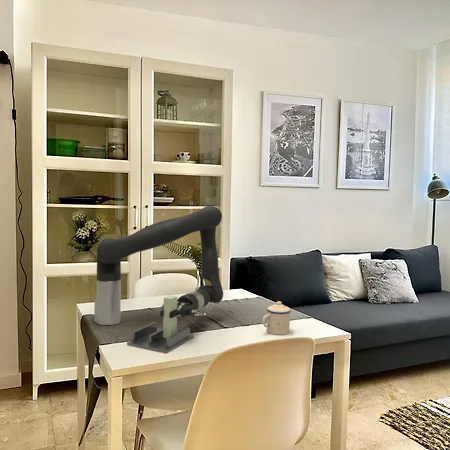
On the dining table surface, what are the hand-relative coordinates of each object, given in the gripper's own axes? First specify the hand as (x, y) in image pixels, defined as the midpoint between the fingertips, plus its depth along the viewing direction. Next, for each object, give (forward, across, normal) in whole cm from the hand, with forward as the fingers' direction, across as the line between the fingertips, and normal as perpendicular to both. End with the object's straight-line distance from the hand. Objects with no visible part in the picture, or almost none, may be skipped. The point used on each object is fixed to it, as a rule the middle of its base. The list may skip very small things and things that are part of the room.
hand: (165, 314), depth 153 cm
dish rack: (-3, -4, +11) cm, 12 cm away
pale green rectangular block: (-3, 0, +8) cm, 9 cm away
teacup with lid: (-33, +28, +11) cm, 45 cm away
